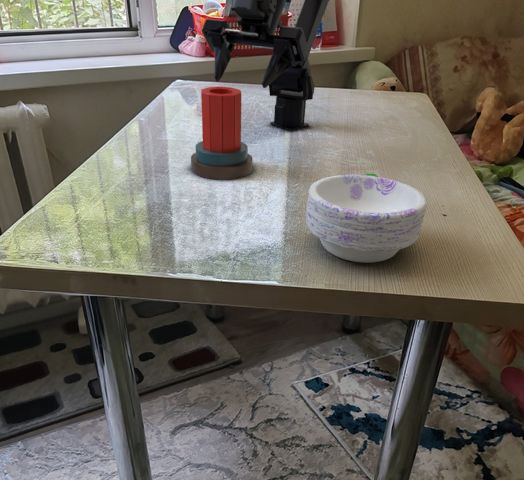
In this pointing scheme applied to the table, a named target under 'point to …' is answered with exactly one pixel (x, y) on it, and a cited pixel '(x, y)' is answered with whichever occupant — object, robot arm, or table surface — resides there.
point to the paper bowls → (364, 216)
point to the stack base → (221, 170)
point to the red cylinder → (221, 119)
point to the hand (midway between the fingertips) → (239, 83)
